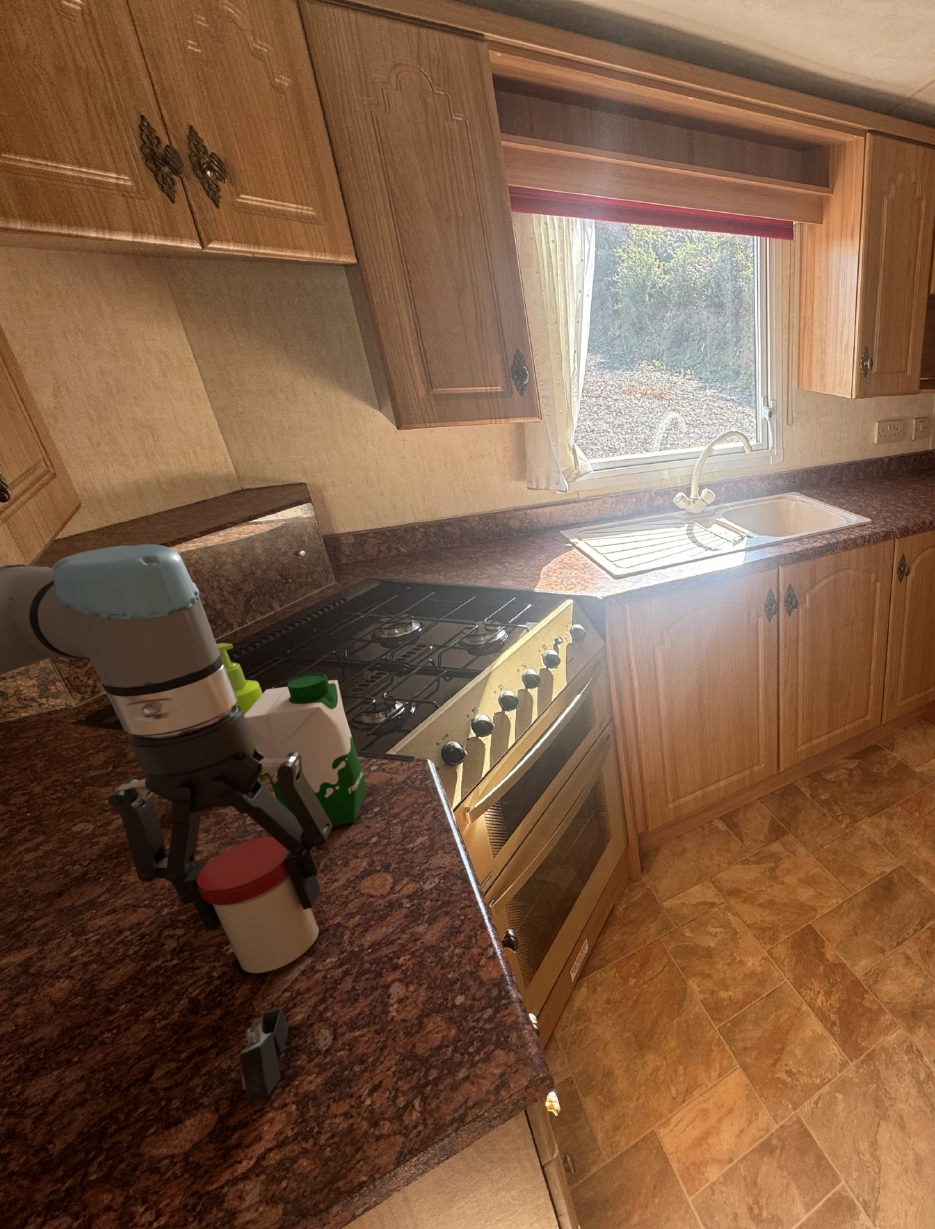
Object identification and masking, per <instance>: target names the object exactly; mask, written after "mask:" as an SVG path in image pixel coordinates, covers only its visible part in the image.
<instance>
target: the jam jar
mask: <svg viewBox="0 0 935 1229" xmlns="http://www.w3.org/2000/svg"><path fill="white" fill-rule="evenodd" d="M212 905H213V907H214V910H215V912H216V914H217V916H218V918H219V921H220V925H221V927H222V929H223V931H224V934H225V936H226V938H227V940H228V942H229V944H230V946H231V949H232V951H233V953H234V956H235V957H236V959H237V960H236V961H237V962H238V964H239V966H240V968H241V969H242V970H243V971H245V972H247V973H251V974H261V973H262V974H263V973H268V972H271V971H274V970H277V969H280V968H283V967H284V966H287V965H289V964H290V963H292V962H294V961H296V959H299V957H301V956H302V955H304V954H305V953H306V952H307V951H308V950H309V949H310V948H311V947H312V946H313V944H314V943H315V942H316V940H317V938H318V936H319V931H320V929H319V926H318V923H317V921H316V918H315V915H314V913H313V910H312V908H309V909H305V910H303V907H302V905H301V902H300V900H299V897H298V895H297V892H296V890H295V887H294V884H293V882H292V879H291V877H290V875H289V876H288V877H287V878H286V879H285V880H283V881H282V882H281V883H280V884H278V885H277V886H275V887H274V888H272V889H270V890H269V891H267V892H265V893H263V894H261V895H259V896H257V897H254V898H252V899H249V900H246V901H243V902H239V903H235V904H229V905H214V904H212Z"/></svg>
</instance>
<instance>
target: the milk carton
mask: <svg viewBox="0 0 935 1229" xmlns="http://www.w3.org/2000/svg"><path fill="white" fill-rule="evenodd" d="M262 693H263V694H262V695H261V696H260V698H259V699H258V700H257V701H256V702H255V703H254V705H253V706H252V707H251V708H250V709H249V710H248V712H247V713H246V714H245V715H244V717H245V720H246V722H247V725H248V728H249V730H250V733H251V735H252V737H253V739H254V741H255V744H256V746H257V749H258V751H259V752H260V753H261V754H263V755H264V757H265V758H286V756H287V755H288V754H289V753H291V752H297V753H299V754H300V755H301V757H302V772H303V774H304V776H305V777H306V779H307V781H308V783H309V785H310V786H311V788H312V790H313V792H314V793H315V795H316V797H317V799H318V800H319V802H320V804H321V806H322V807H323V809H324V811H325V813H326V814H327V816H328V818H329V820H330V821H331V823H332V827H336V826H342V825H346V824H352V823H355V821H356V819H357V817H358V814H359V812H360V810H361V807H362V805H363V803H364V801H365V798H366V796H367V793H368V787H367V784H366V780H365V775H364V772H363V769H362V765H361V762H360V758H359V755H358V753H357V748H356V746H355V743H354V740H353V736H352V733H351V730H350V726H349V723H348V719H347V717H346V713H345V709H344V704H343V700H342V694H341V690H340V686H339V681H338V680H337V679H332V680H328V677H327V675H326V674H324V673H321V672H313V673H307V674H303V675H300V676H297V677H295V678H292V679H291V680H289V681H288V683H287V684H286V686H283V687H282V686H281V687H276V688H275V687H274V688H268V689H267V688H266V689H265V691H264V692H262ZM266 775H267V777H268V780H269V783H270V786H271V788H272V791H273V793H274V797H275V798H276V799H277V800H278V801H279V802H280V803H281V804H282V805H283V806H284V807H286V808H287V809H288V810H289V811H290V812H291V813H292V814H293V812H292V811H291V809H290V807H289V805H288V804H287V802H286V800H285V799H284V797H283V795H282V794H281V792H280V789H279V786H278V782H277V783H274V782H272V779H271V777H270V775H269V774H268V773H266ZM293 815H294V814H293Z"/></svg>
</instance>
